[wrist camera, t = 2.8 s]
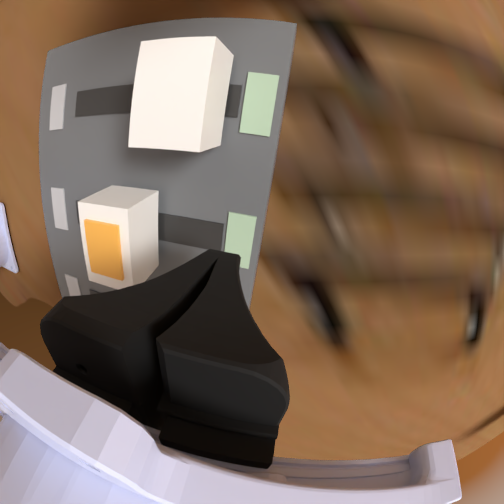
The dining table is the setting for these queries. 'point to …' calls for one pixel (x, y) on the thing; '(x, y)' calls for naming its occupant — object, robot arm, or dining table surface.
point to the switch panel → (163, 160)
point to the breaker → (180, 94)
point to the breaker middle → (120, 235)
